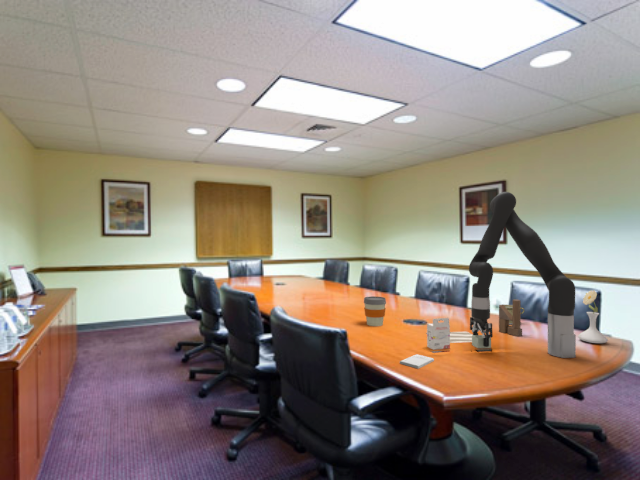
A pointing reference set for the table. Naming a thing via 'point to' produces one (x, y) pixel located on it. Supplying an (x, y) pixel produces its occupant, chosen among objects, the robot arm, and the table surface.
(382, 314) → the reusable coffee cup
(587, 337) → the flower in vase
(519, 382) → the table surface
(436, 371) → the table surface
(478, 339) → the block
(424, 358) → the external hard drive
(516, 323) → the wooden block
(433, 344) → the ink cartridge box
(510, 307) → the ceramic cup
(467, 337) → the birch board
